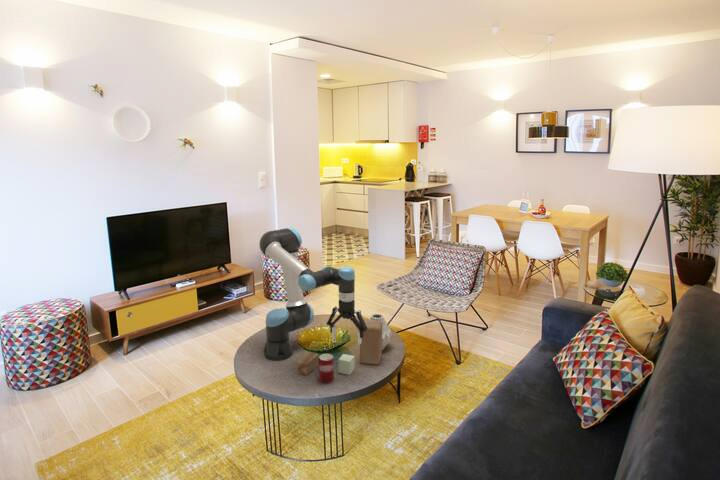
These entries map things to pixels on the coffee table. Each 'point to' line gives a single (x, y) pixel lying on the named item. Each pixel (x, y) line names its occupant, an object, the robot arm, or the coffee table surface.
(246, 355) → the coffee table surface
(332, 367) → the soda can
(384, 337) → the vase
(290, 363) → the coffee table surface
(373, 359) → the wooden block
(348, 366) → the sage block
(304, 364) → the walnut block
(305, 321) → the robot arm
